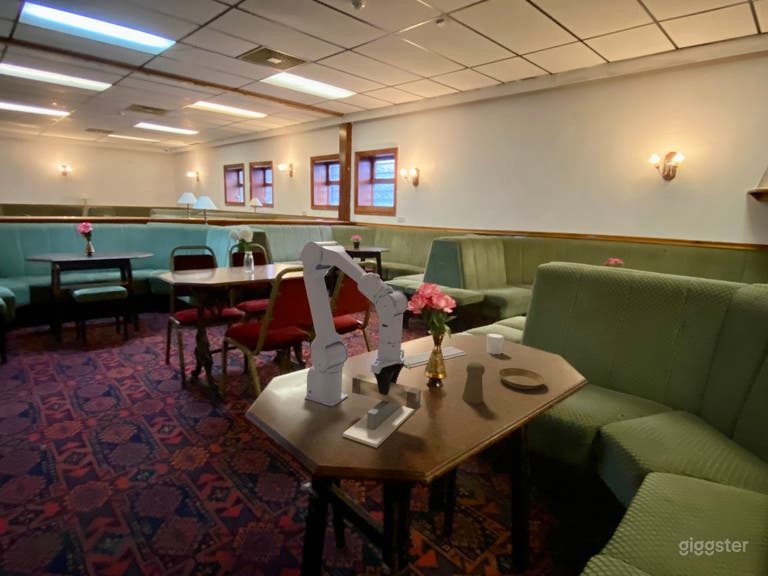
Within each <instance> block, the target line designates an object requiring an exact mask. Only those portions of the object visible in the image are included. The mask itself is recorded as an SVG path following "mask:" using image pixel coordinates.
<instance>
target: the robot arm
mask: <svg viewBox="0 0 768 576" xmlns="http://www.w3.org/2000/svg"><path fill="white" fill-rule="evenodd" d="M300 257H301V262H302V266H303V267H302V276H303V281H304V286H305V289H306V295H307V299H308V300H307V301H308V304H309V308H310V309H309V310H310V314H311V318H312V323H313V328H314V332H315V338H314V339H313V341H312V342H311V344H310V350H311V354H310V362H311V366H310V368H309V369H308V372H307V375H306V395H305V396H304V398H305V399H307V400H309V401H313V402H316V403H319V404H323V405H326V406H329V407H334V406H335V405H337V404H338V403H340V402H342V401H343V400H345V399H346V398H348V394H346V393H344V392H343V390H342V389H343V370H344V369H343V368H344V367H345V363H347V361H348V359H349V355H350V352H349V349H348V347H347V345H346V344H345V341H344V338H343V337H344V336H342V335H341V334H339V333H338V332H337V331H336V328H335V327H336V326H335V323H334V318H333V314H332V308H331V304H330V299H329V295H328V289H327V285H326V281H325V276H326V275H327V273H328V271H329V270H331V269H332V268H333V267H337V268H338V269H339V270H341V271H342V272H343V273H344V274H345V275H347V276H348V277H349V278H351V279H352V280H353V281H354V282H356V283H357V290H358V291H359V292H360V293H361V294H362V295H364V296H365V297H366V298H367V299H368V300H369V301H370V302H372V303H373V304H374V306H375V311H376V313H377V314H378V321H379V323H378V326H379V327H378V342H377V355H376V357H375V359H374V362H373V363H372V364H371V365H370V372H371V373H373V374H374V375H373V376H374V378H376V380H377V384H378V388H379V393H380V394H383V395H388V392H389V388H390V382H392V383H396V384H397V382H398V378H399V375H400V373H401V371H402V369H403V368H404V367H405V366H404V363H403V362H404V359H402V358H403V357H404V356H405V350H404V349H402V338H403V337H402V336H403V335H402V334H403V320H404V319H403V318H404V313H405V312H406V311H407V310H408V305H409V302H408V301H409V300H408V298H407V296H406V295H405V294H404V292H403V291H402V290H394V288H393V287H392V286H391V285H388V284H386V282H384V281H383V280H382V279H381V276H380V274H378V273H374V272H368V273H367V272H366V271H365V269H363V268H362V267H361V266H360V265H359V264H358V263H357V262H356V261H355V260H354V259H353V258H352V257H351V256H350V255H349V254H348V253H347V252H346V249H345V247H344V246H342V245H341V244H339V242H338V241H335V240H329V241H311V240H310V241H308V242H306V243H305V245H304V246H303V248H302V250H301V252H300Z"/></svg>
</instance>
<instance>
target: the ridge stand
mask: <svg viewBox="0 0 768 576" xmlns="http://www.w3.org/2000/svg"><path fill="white" fill-rule="evenodd" d="M421 404H422V401H420V406H421ZM420 406H418V407H417V408H416V409H411V408H407V407H405V406H401V405H397V404H394V403H390V402H386V401H383V400H380V402H378V403H376V405H375V406H373V407H372V408H371V409H369V410H368V411H367V414H366V415H364V416H363V417H362V418H360V419H359V420H358V421H356V422H355V423H354V424H353V425H351V426H350V427H349V428H348V429H346V430H345V431H343V433H342V437H344V438H347V439H350V440H352V441H355V442H358V443H362V444H365V445H368V446H370V447H372V448H375V449H376V448H379V446H380V445H381V444H382V443H383V442H384V441H385V440H386V439H387V438H388V437H389V436H390V435H391V434H393V432H395V430H397V429H398V428H399V426H400V425H401V424H402V423H403V422H404V421H405V420H407V419H408V418H409V417H410V416H411V415H412V414H413V413H414V412H415V411H416V410H417V409H418V408H419V407H420Z"/></svg>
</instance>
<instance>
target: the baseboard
mask: <svg viewBox="0 0 768 576" xmlns="http://www.w3.org/2000/svg"><path fill="white" fill-rule="evenodd" d="M431 352H432V350H428V351H424V352H420V353H413V354H409V355H404V357H403V358H402V359H404V362H403V363H404V366H403V367H405V368H406V369H412V368H416V367H420V365H421V366H425V365H427V364H426V363H427V361H428V359H429V357H430V354H431ZM442 353H443V358H444V360H443V361H445V360H449V359H454V358H458V357H462V356H466V355H468V354H467V353H466V352H465V351H464V350H461V349H459V348H456V347H454V346H447V347H446V346H445V347H442Z"/></svg>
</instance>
